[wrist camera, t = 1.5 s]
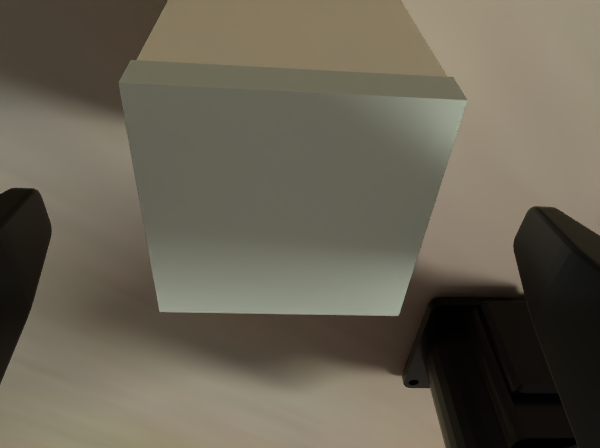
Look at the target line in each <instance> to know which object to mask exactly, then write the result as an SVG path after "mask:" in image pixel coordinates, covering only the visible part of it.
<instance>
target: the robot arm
mask: <svg viewBox="0 0 600 448" xmlns="http://www.w3.org/2000/svg"><path fill="white" fill-rule="evenodd" d="M51 232H52V230H51V223H50V220H49V217H48V214H47V211H46V208H45V205H44V202H43V199H42V196H41V194H40V193H39V191H38V190H36V189H33V188H11V189H9V190H7V191H5V192H3V193H2V194H0V383H1V381H2V379H3V376H4V374H5V371H6V369H7V366H8V364H9V362H10V359H11V357H12V354H13V352H14V350H15V347H16V345H17V342H18V340H19V337H20V335H21V333H22V330H23V328H24V325H25V323H26V320H27V318H28V315H29V313H30V310H31V307H32V304H33V300H34V297H35V294H36V290H37V286H38V283H39V279H40V275H41V272H42V268H43V264H44V260H45V257H46V253H47V249H48V246H49V242H50V238H51ZM513 247H514V254H515V258H516V262H517V266H518V270H519V274H520V278H521V282H522V286H523V290H524V294H525V298H526V299H520V298H470V297H438V298H436V299H433V300H432V301H431V302H430V303H429V305H428V308H427V310H426V313H425V316H424V318H423V321H422V324H421V326H420V329H419V332H418V334H417V337H416V340H415V343H414V345H413V348H412V351H411V353H410V356H409V359H408V361H407V364H406V367H405V369H404V372H403V375H402V379H403V383H404V385H405V386H406V387H408V388H430V389H431V393H432V397H433V401H434V405H435V408H436V412H437V416H438V420H439V424H440V428H441V432H442V435H443V439H444V443H445V447H446V448H600V236H599V235H598V234H596V233H595V232H593V231H591V230H590V229H588V228H587V227H585V226H583V225H582V224H580V223H579V222H577V221H575V220H574V219H572V218H571V217H569V216H568V215H566V214H564V213H563V212H561V211H560V210H558V209H556V208H554V207H539V206H535V207H532V208H530V209H529V210H528V212H527V213H526V215H525V218H524V220H523V222H522V224H521V226H520V228H519V230H518V232H517V234H516V236H515V239H514V245H513Z"/></svg>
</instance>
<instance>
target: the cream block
mask: <svg viewBox="0 0 600 448" xmlns="http://www.w3.org/2000/svg"><path fill="white" fill-rule="evenodd" d="M118 84H119V90H120V95H121V101H122V107H123V112H124V118H125V123H126V129H127V134H128V140H129V145H130V151H131V156H132V162H133V168H134V173H135V179H136V184H137V190H138V195H139V201H140V206H141V212H142V218H143V223H144V229H145V234H146V240H147V245H148V251H149V256H150V262H151V267H152V273H153V279H154V284H155V290H156V295H157V301H158V306H159V312H189V313H249V314H309V315H369V316H399V313H400V310H401V307H402V304H403V301H404V298H405V295H406V291H407V288H408V285H409V282H410V279H411V276H412V273H413V270H414V266H415V263H416V260H417V257H418V254H419V251H420V248H421V245H422V241H423V238H424V235H425V232H426V229H427V226H428V223H429V220H430V216H431V213H432V210H433V207H434V204H435V201H436V198H437V194H438V191H439V188H440V185H441V182H442V179H443V176H444V173H445V169H446V166H447V163H448V160H449V157H450V154H451V151H452V148H453V144H454V141H455V138H456V135H457V132H458V129H459V126H460V122H461V119H462V116H463V113H464V110H465V107H466V104H467V101H468V100H467V99H466V97H465V95H464V94H463V92H462V91H461V89H460V87H459V86H458V84H457V83H456V81H455V79H454V78H453V77H447V75H446V74H445V72H444V70H443V69H442V67H441V66H440V64H439V62H438V61H437V59H436V57H435V56H434V54H433V52H432V51H431V49H430V47H429V46H428V44H427V42H426V41H425V39H424V38H423V36H422V34H421V33H420V31H419V29H418V28H417V26H416V24H415V23H414V21H413V19H412V18H411V16H410V14H409V13H408V11H407V10H406V8H405V6H404V5H403V3H402V1H401V0H168V1H167V3H166V5H165V7H164V9H163V11H162V12H161V14H160V16H159V18H158V20H157V22H156V24H155V26H154V28H153V29H152V31H151V33H150V35H149V37H148V39H147V41H146V43H145V45H144V46H143V48H142V50H141V52H140V54H139V56H138V58H137V60H130V62H129V64H128V66H127V68H126V70H125V71H124V73H123V75H122V77H121V79H120V80H119V82H118Z"/></svg>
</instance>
